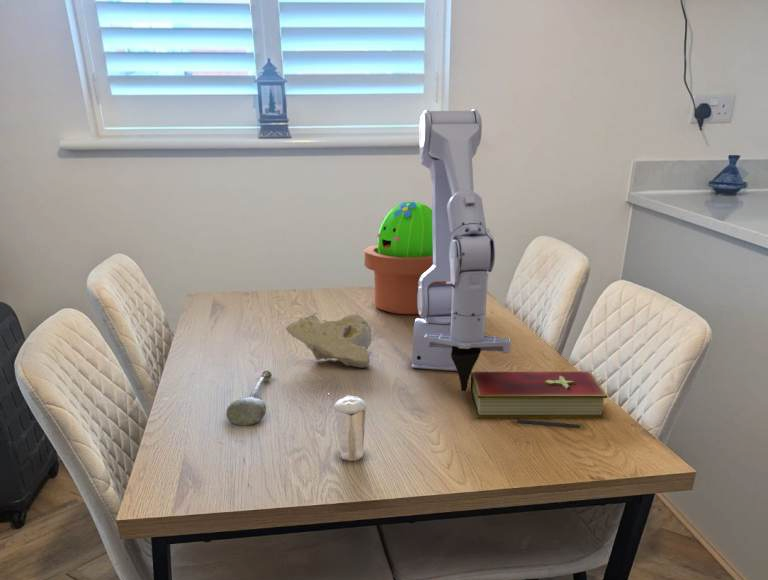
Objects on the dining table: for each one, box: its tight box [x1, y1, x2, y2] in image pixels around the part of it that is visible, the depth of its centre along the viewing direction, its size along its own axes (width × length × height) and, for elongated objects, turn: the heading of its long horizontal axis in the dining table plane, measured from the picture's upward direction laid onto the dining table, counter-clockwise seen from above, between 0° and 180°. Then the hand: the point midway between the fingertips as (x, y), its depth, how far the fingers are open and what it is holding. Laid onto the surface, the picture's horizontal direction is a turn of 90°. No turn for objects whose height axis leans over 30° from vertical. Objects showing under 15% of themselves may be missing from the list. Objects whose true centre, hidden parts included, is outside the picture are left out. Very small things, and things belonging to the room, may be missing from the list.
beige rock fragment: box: [285, 312, 373, 369], centre depth 143 cm, size 15×7×15 cm
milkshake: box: [327, 393, 367, 462], centre depth 104 cm, size 4×5×10 cm
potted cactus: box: [363, 200, 447, 315], centre depth 174 cm, size 22×22×25 cm
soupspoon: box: [225, 370, 273, 427], centre depth 125 cm, size 22×3×7 cm
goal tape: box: [516, 419, 581, 429], centre depth 124 cm, size 10×18×1 cm, turn 167°
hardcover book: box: [469, 371, 608, 419], centre depth 123 cm, size 12×21×4 cm, turn 89°
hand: (464, 389), depth 126 cm, fingers closed
